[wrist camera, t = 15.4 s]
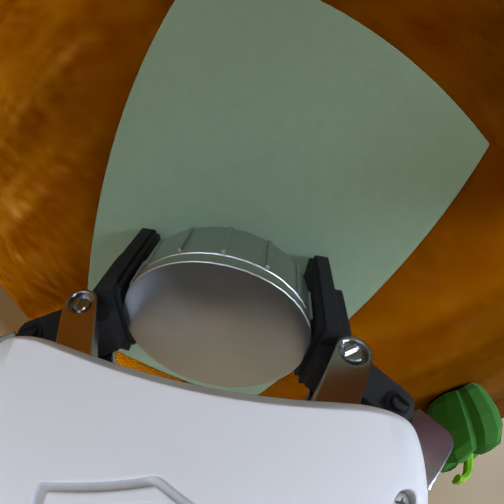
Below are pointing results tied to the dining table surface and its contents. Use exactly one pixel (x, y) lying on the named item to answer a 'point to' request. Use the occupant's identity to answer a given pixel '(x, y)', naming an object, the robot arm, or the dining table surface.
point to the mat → (283, 143)
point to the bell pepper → (467, 425)
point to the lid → (220, 308)
